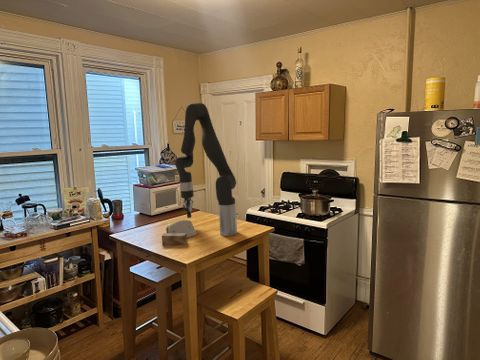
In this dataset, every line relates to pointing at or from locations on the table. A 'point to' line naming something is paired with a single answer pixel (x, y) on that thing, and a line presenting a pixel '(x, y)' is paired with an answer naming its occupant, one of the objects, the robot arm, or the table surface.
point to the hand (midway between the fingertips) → (189, 217)
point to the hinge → (182, 228)
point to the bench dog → (174, 239)
